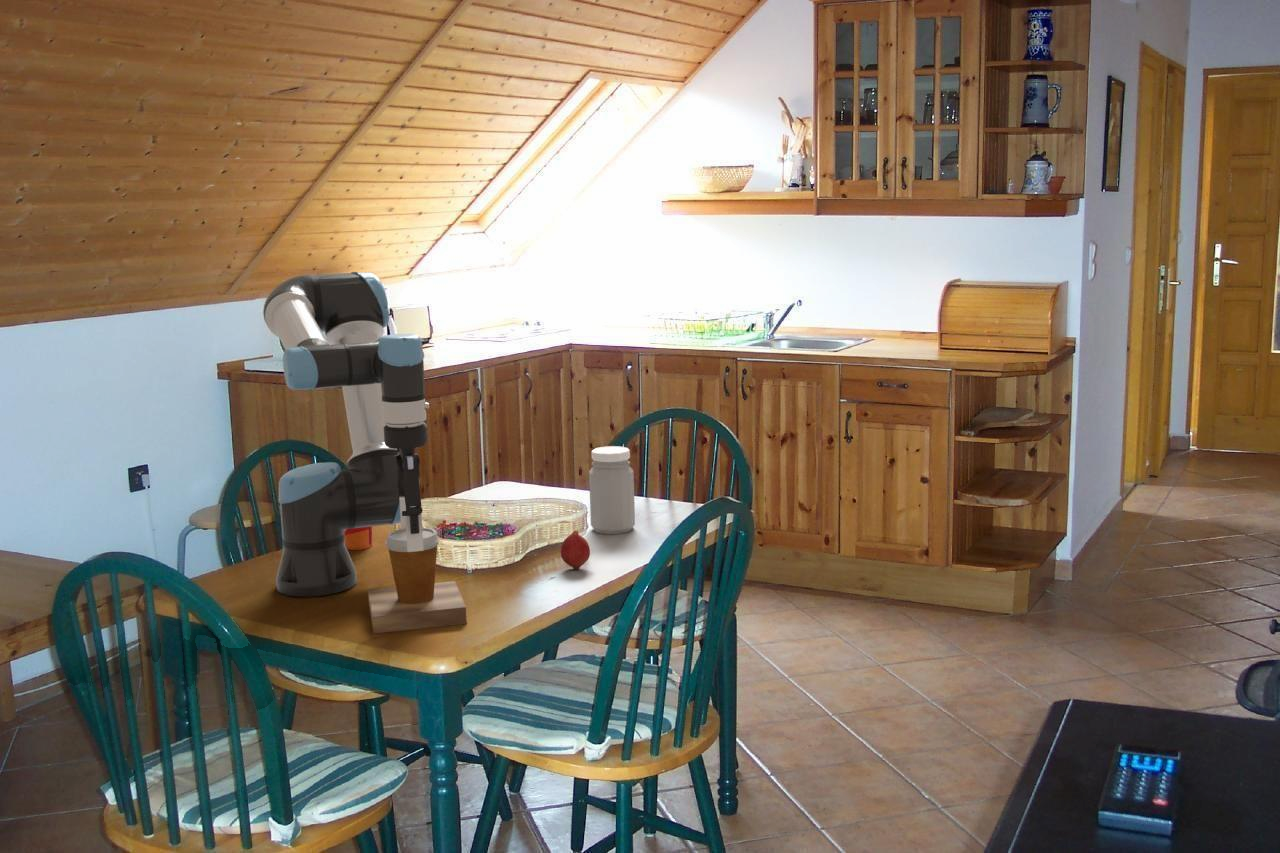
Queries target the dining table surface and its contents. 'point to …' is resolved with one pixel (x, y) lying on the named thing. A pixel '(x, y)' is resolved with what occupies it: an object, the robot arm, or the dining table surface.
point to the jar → (611, 490)
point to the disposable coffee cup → (413, 566)
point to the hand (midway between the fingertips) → (412, 541)
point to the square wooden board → (416, 609)
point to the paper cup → (358, 538)
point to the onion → (575, 550)
